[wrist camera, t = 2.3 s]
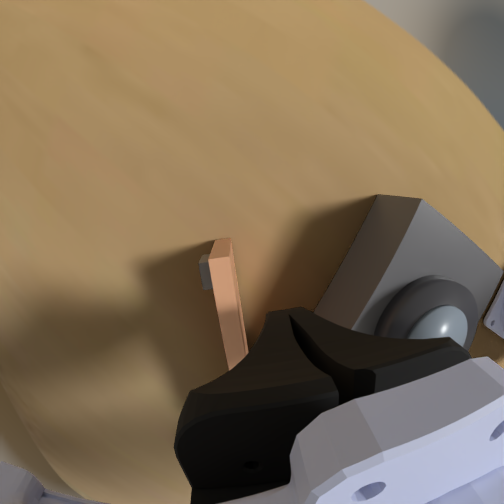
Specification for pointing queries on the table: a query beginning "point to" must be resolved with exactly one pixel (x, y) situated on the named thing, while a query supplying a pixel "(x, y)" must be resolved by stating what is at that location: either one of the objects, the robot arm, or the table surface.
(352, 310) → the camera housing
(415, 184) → the table surface
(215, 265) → the side door
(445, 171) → the table surface
